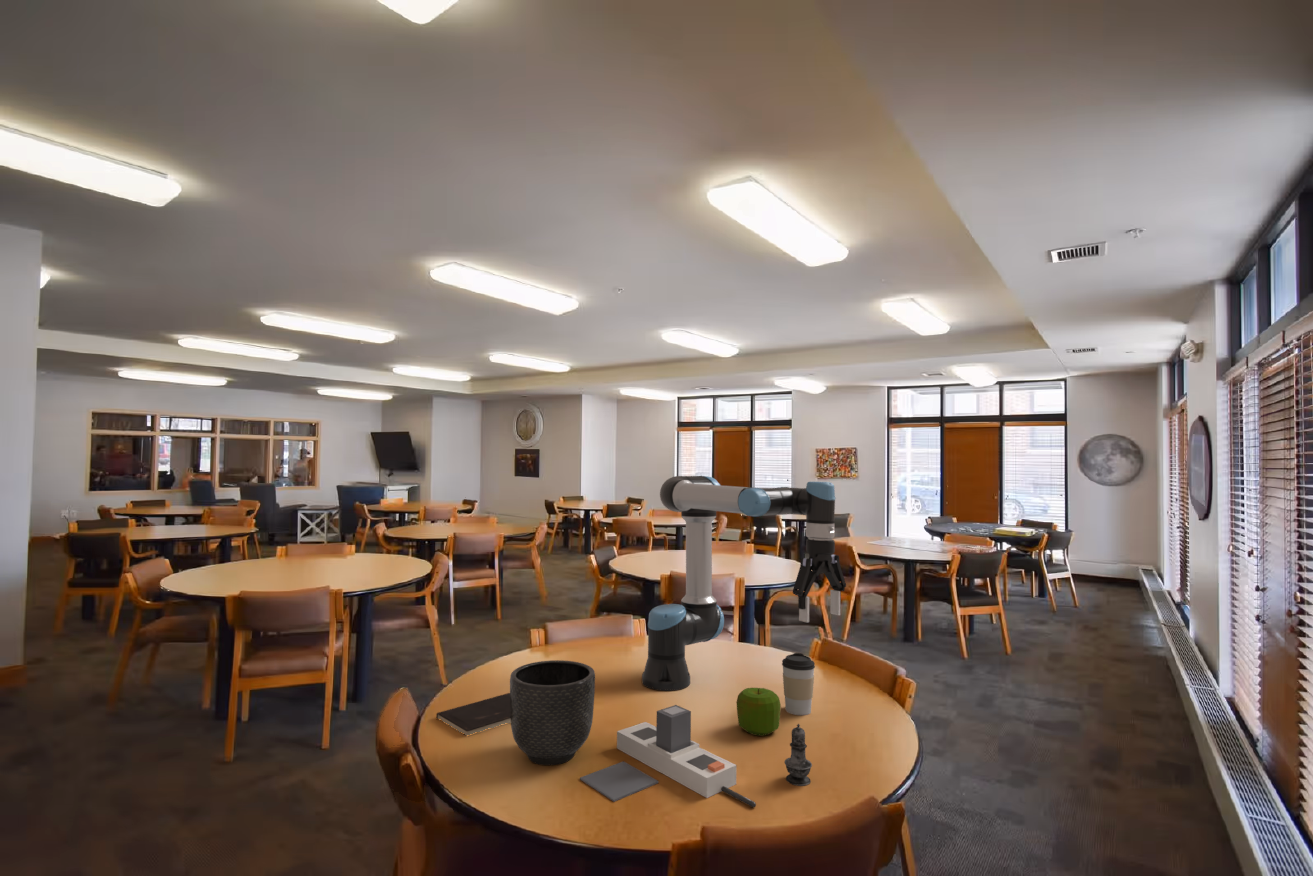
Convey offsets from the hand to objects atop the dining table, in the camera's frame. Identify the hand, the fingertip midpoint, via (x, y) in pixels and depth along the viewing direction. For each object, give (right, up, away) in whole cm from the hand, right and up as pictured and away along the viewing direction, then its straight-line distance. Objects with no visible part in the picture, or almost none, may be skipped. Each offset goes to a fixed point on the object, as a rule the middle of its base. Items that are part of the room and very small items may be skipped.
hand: (820, 618), depth 172 cm
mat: (-52, -25, -35) cm, 68 cm away
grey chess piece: (-13, -26, -33) cm, 44 cm away
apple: (-18, -27, -7) cm, 33 cm away
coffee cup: (-4, -28, +6) cm, 29 cm away
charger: (-40, -22, -27) cm, 53 cm away
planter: (-69, -26, -23) cm, 77 cm away
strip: (-37, -26, -31) cm, 55 cm away
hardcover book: (-89, -27, 0) cm, 93 cm away
